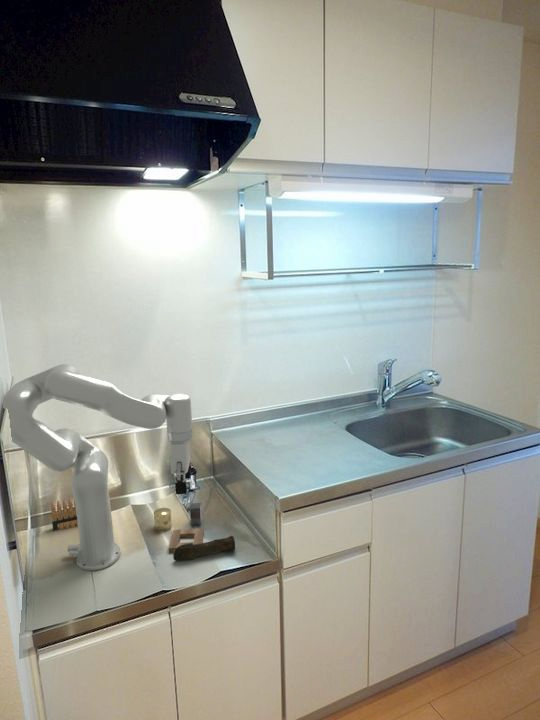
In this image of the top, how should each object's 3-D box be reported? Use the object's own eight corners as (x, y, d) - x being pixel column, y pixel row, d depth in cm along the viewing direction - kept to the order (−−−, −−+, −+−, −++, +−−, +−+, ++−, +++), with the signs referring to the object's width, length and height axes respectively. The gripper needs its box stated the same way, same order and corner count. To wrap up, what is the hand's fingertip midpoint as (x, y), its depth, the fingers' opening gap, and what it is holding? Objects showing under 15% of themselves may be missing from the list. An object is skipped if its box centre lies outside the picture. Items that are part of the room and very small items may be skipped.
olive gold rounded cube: (153, 534, 152) (152, 517, 150) (156, 524, 157) (155, 508, 156) (170, 533, 152) (169, 516, 151) (173, 524, 158) (171, 507, 156)
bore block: (168, 554, 141) (168, 548, 141) (173, 535, 151) (173, 529, 151) (201, 552, 142) (200, 546, 141) (203, 533, 152) (203, 528, 151)
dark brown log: (233, 544, 145) (232, 531, 144) (236, 551, 141) (235, 538, 140) (173, 556, 140) (172, 542, 139) (174, 564, 136) (173, 550, 135)
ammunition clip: (87, 525, 158) (83, 493, 155) (87, 528, 156) (83, 496, 154) (53, 532, 154) (49, 500, 151) (53, 535, 152) (48, 503, 150)
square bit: (191, 527, 156) (189, 508, 154) (192, 521, 159) (191, 503, 157) (201, 526, 156) (200, 508, 154) (201, 521, 159) (200, 502, 158)
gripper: (171, 424, 147) (175, 473, 150) (162, 446, 130) (166, 500, 133) (195, 424, 147) (198, 472, 151) (189, 445, 130) (192, 499, 134)
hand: (183, 485), depth 142 cm, fingers open, 9 cm apart
